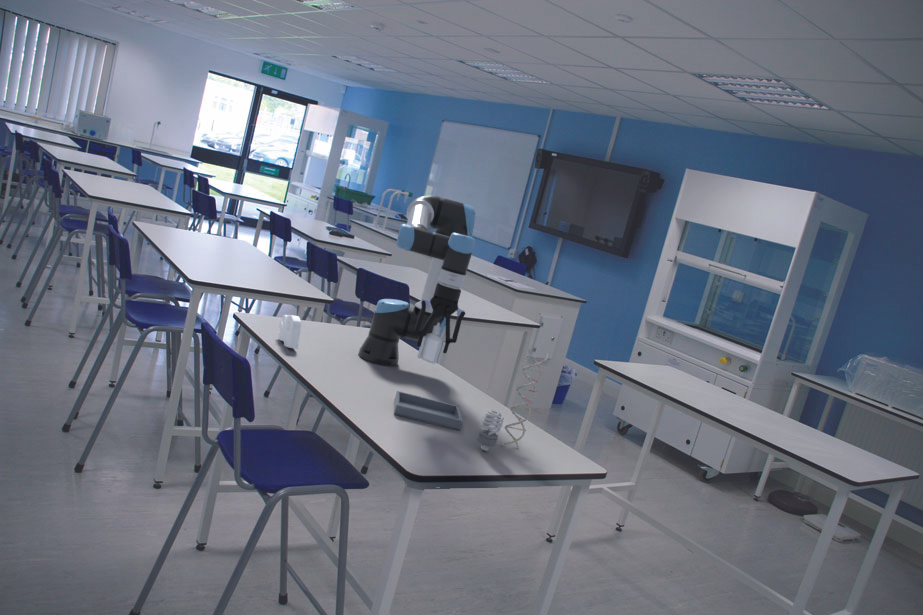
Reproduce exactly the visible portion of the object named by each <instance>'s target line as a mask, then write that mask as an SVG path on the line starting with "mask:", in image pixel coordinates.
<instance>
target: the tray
mask: <svg viewBox="0 0 923 615" xmlns="http://www.w3.org/2000/svg"><path fill="white" fill-rule="evenodd" d="M393 404H394V405H393V415H394V416H398V417H403V418H407V419H410V420H413V421H418V422H423V423H427V424H432V425H435V426H439V427H444V428H448V429H451V430H456V431H460V430H461V427H462V424H463V418H462V415H461V411H460V408H459V405H456V404H451V403H450V402H449V403H447V402H445V401H440V400H436V399H433V398H427V397H425V396H420V395H415V394H412V393H407V392H404V391H400V390H396V393H395V397H394V402H393Z"/></svg>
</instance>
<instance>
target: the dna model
mask: <svg viewBox="0 0 923 615" xmlns="http://www.w3.org/2000/svg"><path fill="white" fill-rule="evenodd" d="M531 350H532V349H531V348H529V349H528V354H529V355H530V357H531V358H532V360H533V361H534V362H535V363H533V364H531V365H527V366H523V368H522V374H523V375H524V376H525V378H526V379H527V380H528V381H529V383H527V384H526V383H524V384H523V385H520V386H517V388H516V390H515V391H516V392H517V394H518V395H519V396H520V398H521V400H523V401H524V402H522V403H518V404H515V405H512V406H511V407H510V411H511V413H512V414H513V415H514V416H515V418H516V419H517V420H518V421H517V422H513V423H509V424H506V425H505V426H504V429H505V431H506V432H507V433H508V435H509V436H510V437H511V438H512V439H513V440H512V441H507V442H504V443H500V446H506V445H507V446H508V445H510V444H513V443H515V444H516V449H520V447H519V443H518V441H521V439H522V438H524V436H525V433H526V431H527V429H526V428H525V424H524V422H527V420H529V418H531V414H532V412H533V410H532V409H531V407H530V404H529V403H532V402H533V401H534V400H535V399H536V397H537V393H538V392H539V391H538V390H537V387H536V385H535V384H536V383H538V382H540V381H541V380H542V379H543V374H544V371H543V369H542V366H541V364H544V363H545V362H546V361H547V360H548V359H549V355H550V353H548V352H547V354H546V357H545V358H544V359H542V360H541V359H539V358H537V357H536V356H535V355H533V354H532V353H531ZM533 367H538V368H539V370H535V369H531V368H533ZM526 370H529V371H532V372H533V371H534V372H536V373H540V375H539V376H538V378H537V379H536V380H535V379H534V378H531V377H530V376H529V375H527V373H526V372H525V371H526ZM531 385H532V387H533V390H531V389H528V392H532V393H534V396H533V397H532V398H531V399H530V400H529V399H528V398H526V397H525V396H524V395H522V393H521V392H520V390H525V391H527V389H526V388H525V387H528V386H531ZM524 405H525V406H527V408H528V409H524V408H523V409H522V408H521V406H524ZM514 409H517V410H523V411H526V412H528V415H527V416H526V417H525V418H524V419H523V418H522V417H520V416H519V415H518V414H516V412H515V411H514ZM517 425H521V426H522V428H517V427H512V426H517ZM508 428H510V429H513V430H518V431H522V434H521V435H520V436H519V437H518V438H516V437H515V436H513V434H512V433H511V432H510V431H509V429H508Z"/></svg>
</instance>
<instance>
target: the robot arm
mask: <svg viewBox="0 0 923 615" xmlns="http://www.w3.org/2000/svg"><path fill="white" fill-rule="evenodd" d="M406 218H407V221H406V223H402V224H401V225H400V228H399V229H398V230H399V231H398V235H397V239H396V242H395V245H396V247H398V248H399V249H402V250H405V251H407V252H412V253H415V254H418V255H423V256H427V257H431V258H432V260H431V262H430V265H429V269H428V273H427V277H426V279H425V280H426V281H425V284H424V287H423V291H422V294H421V298H420V301H417V302H416V303H415V304H414V307H410V304H409V302H407V301H403V300H401V299H395V298H394V299H393V298H383V299H379V300H378V301H377V304H376V306H375V309H374V310H373V313H374V314H373V318H372V320H371V324H370V326H369V327H370V328H369V332H368V335H367V337H366V339H365V340H364V342H363V343H362V345H361V346H360V347H359V350H358V356H359V357H360V358H361V359H362V360H366V361H368V362H371V363H374V364H377V365H382V366H389V367H392V366H393V367H394V366H397V365H398V362H399V361H400V360H399V359H400V358H399V356H400V355H399V341H400V338H403V339H408V340H410V341H411V340H412V341H415V342H417V343H416V346H417V347H419V348H418V352H417V359H418V360H419V359H421V358H420V356H421V353H422V349H423V346H424V342H425V339H426V334H428V333H432V331H433V327H434V326H436V325H437V323H438V322H439V323H440V327H441V328H442V329H441V332H440V336H441V337H442V336H443V334H444V331H445V340H443V344H442V348H441V351H440V355H439V358H438V362H437V363H436V364H440V363H441V360H442V357H443V354H447V353H448V349H449V345H450V344H453V343H454V344H456V343H457V342H458V341H457V340H458V336H459V332H460V328H461V324H462V320H463V319H464V317H465V316H466V311H465V310H464V309H461V308H459V299H460V296H461V294H462V288H463V287H464V286H463V285H464V282H465V280H466V279H465V278H466V275H467V272H468V268H469V264H470V261H471V258H472V254H473V252H474V249H475V248H474V247H475V242H476V239H475V238H474V237H473V233H474V229H475V223H476V222H475V221H476V209H475V208H474V207H473V206H472V205H470V204H466V203H463V202H460V201H456V200H453V199H449V198H445V197H442V196H439V195H432V194H427V195H422V196H418V197H417V198H414V199H413V200H412V201H411V202H410V203H409V204H408V206H407V209H406ZM430 228H431V229H433V230H435V232H434V231H431V230H430ZM455 313H456V316H457V317H456V322H455V326H454V329H453V333H452V337H451V316H452V315H453V314H455Z"/></svg>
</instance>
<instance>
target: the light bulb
mask: <svg viewBox="0 0 923 615" xmlns="http://www.w3.org/2000/svg"><path fill="white" fill-rule="evenodd" d="M484 414H485V415H484V416H483V419H482V420H481V421H482V423H481V426H482V427H483V429H481V430H480V431H479V432H478V438H477V441H478V443H479V444H480V449H481V450H482V451H483V452H486V451H487V452H488V451H489V450H490V447H491V448H492V447H495V446H496V443H497V440H498V438H499V436H498V434H497V433H499V432H500V431H501V428H502V427H503V424H504V419H505V418H504V417H505V416H504V415H503V414H502V413H501V412H499V411H498V410H495V409H491V411H490V412H489V411H485V412H484ZM484 428H485V429H484Z"/></svg>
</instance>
